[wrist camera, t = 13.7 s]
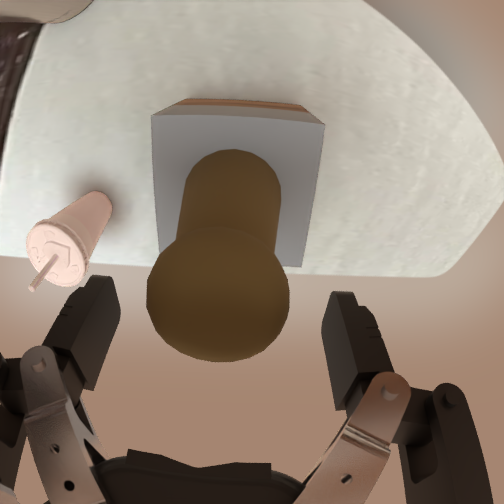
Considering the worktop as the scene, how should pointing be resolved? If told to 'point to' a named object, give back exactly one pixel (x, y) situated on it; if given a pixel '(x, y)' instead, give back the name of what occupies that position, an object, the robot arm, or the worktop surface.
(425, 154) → the worktop surface
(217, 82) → the worktop surface
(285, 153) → the slate top block
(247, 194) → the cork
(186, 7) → the worktop surface
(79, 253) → the smoothie
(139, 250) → the worktop surface
